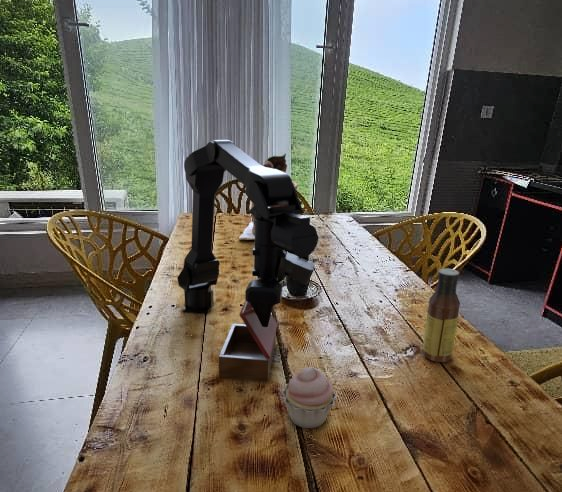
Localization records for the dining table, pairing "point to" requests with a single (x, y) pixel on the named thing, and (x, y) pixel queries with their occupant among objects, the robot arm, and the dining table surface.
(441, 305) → the sauce bottle
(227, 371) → the hinged lid chest
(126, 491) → the dining table surface
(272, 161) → the cookie jar
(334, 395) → the cupcake
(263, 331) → the cover
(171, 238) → the dining table surface
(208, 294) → the robot arm
